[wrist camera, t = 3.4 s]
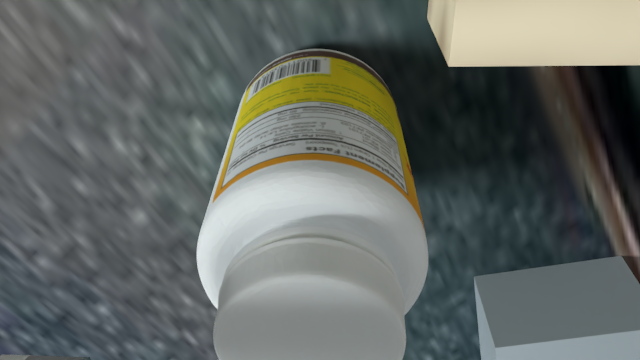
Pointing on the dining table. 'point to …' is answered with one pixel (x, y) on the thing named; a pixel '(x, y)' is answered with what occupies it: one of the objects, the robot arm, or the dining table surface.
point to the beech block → (536, 32)
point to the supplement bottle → (313, 218)
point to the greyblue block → (560, 312)
